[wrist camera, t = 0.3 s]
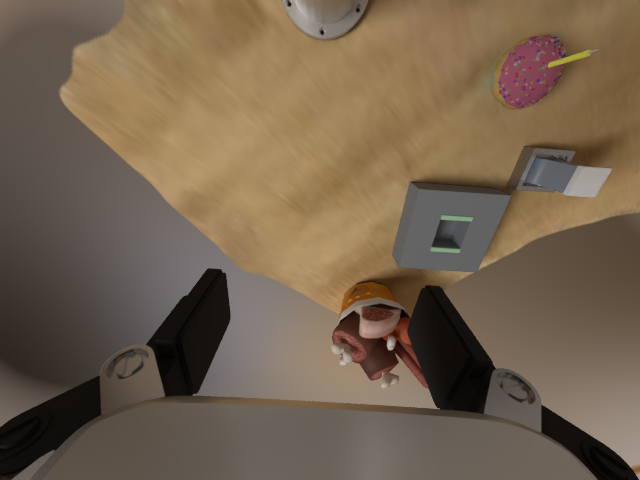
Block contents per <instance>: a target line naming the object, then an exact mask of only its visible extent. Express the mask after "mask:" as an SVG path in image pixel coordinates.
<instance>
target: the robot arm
mask: <svg viewBox="0 0 640 480" xmlns="http://www.w3.org/2000/svg"><path fill="white" fill-rule="evenodd" d="M368 1H369V0H282V2H283V5H284V7H285V10H286V12H287V14H288V16H289V17H290V19H291V20H292V22H293V23H294V25H295V26H296V27H297V28H298V29H299V30H300V31H301V32H303V33H304V34H306V35H307V36H309V37H312V38H314V39H318V40H332V39H335V38H338V37H341V36H342V35H344V34H346V33H347V32H348V31H349V30H351V29H352V28H353V27H354V26H355V25H356V23H357V22H358V21H359V19H360V18H361V16H362V14H363V12H364V10H365V8H366V6H367V3H368ZM288 3H291V6H290V7H289V6H288ZM356 9H359V13H357V12H356ZM321 31H323V32H324V34H323V35H321ZM229 322H230V306H229V297H228V288H227V279H226V273H222V270H221V269H210V268H209V269H207V270H206V271H205V273H204V274H203V275H202V277H201V278H200V280H199V281H198V282H197V283H196V285H195V286H194V287H193V289H192V290H191V292H190V293H189V294H188V295H187V296H184V297H183V298H182V299H181V300H180V301H179V302H178V304H177V305H176V306H175V308H174V309H173V310H172V311H171V313H170V314H169V316H168V317H167V318H166V319H165V321H164V322H163V323H162V325H161V326H160V327H159V328H158V330H157V331H156V332H155V334H154V335H153V336H152V338H151V339H150V340H149V342H148V343H147V344H146V345H134V346H131V347H128V348H125V349H123V350H121V351H119V352H117V353H116V354H114V355H113V356H112V357H110V358H109V359H108V360H107V361H106V362H105V363H104V365H103V367H102V368H101V371H100V375H99V376H97V377H95V378H93V379H91V380H89V381H87V382H85V383H83V384H81V385H79V386H77V387H75V388H73V389H71V390H69V391H67V392H65V393H62V394H60V395H58V396H56V397H54V398H52V399H50V400H48V401H46V402H44V403H42V404H40V405H38V406H36V407H33V408H31V409H29V410H27V411H25V412H24V413H21V414H20V415H18V416H16V417H14V418H12V419H11V420H9V421H8V422H7V423H5V424H4V425H3V426H1V427H0V480H639V479H638V477H637V476H636V474H635V473H634V471H633V470H632V469H631V468H630V467H629V465H628V464H627V463H626V462H625V461H624V460H623V459H622V458H621V457H620V456H619V455H617V454H616V453H615V452H614V451H613V450H611V449H610V448H609V447H607V446H606V445H604V444H603V443H601V442H600V441H598V440H597V439H595V438H593V437H592V436H590V435H588V434H587V433H586V432H584V431H582V430H581V429H579V428H578V427H576V426H574V425H573V424H571V423H570V422H568V421H566V420H565V419H563V418H562V417H560V416H559V415H557V414H556V413H554V412H552V411H551V410H549V409H548V408H546V407H545V406H543V405H541V399H540V396H539V394H538V392H537V391H536V389H535V388H534V387H533V386H532V385H531V383H529V382H528V381H527V380H526V379H525V378H523V377H522V376H520V375H519V374H517V373H515V372H513V371H511V370H508V369H504V368H498V369H496V368H495V367H494V365H493V364H492V363H493V362H492V361H491V359H490V357H489V356H488V355H487V353H486V352H485V350H484V349H483V347H482V346H481V345H480V343H479V342H478V340H477V339H476V337H475V336H474V335H473V333H472V332H471V330H470V329H469V327H468V326H467V324H466V323H465V321H464V320H463V319H462V317H461V316H460V314H459V313H458V311H457V310H456V308H455V307H454V306H453V304H452V303H451V302H450V300H449V298H448V297H447V296H446V294H445V293H444V291H443V290H442V288H441V287H439V286H430V285H427V286H425V288H422V289H421V291H420V294H419V297H418V300H417V303H416V305H415V308H414V311H413V314H412V317H411V319H410V322H409V325H408V328H407V334H408V337H409V340H410V342H411V345H412V347H413V350H414V352H415V355H416V357H417V360H418V362H419V365H420V368H421V370H422V373H423V375H424V378H425V380H426V383H427V385H428V388H429V390H430V393H431V396H432V398H433V401H434V403H435V405H436V407H437V408H440V409H428V408H414V407H398V406H383V405H382V406H381V405H365V404H350V403H333V402H316V401H298V400H279V399H260V398H241V397H216V396H214V397H212V396H192V395H193V394H196V393H198V391H199V389H200V387H201V385H202V382H203V380H204V378H205V376H206V374H207V371H208V369H209V367H210V365H211V362H212V360H213V358H214V356H215V353H216V351H217V349H218V347H219V344H220V342H221V340H222V338H223V335H224V333H225V331H226V329H227V327H228V324H229Z"/></svg>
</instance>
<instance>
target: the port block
mask: <svg viewBox="0 0 640 480" xmlns="http://www.w3.org/2000/svg"><path fill="white" fill-rule="evenodd" d="M510 198H511V195H509V194H506V193H504V192H502V191H499V190H497V189H495V188H488V187H474V186H460V185H446V184H432V183H418V182H410V183H409V187H408V191H407V196H406V200H405V204H404V208H403V212H402V216H401V220H400V224H399V228H398V233H397V237H396V241H395V245H394V249H393V253H392V255H393V257H394V259H395V261H396V263H397V265H398V267H399V268H413V269H429V270H446V271H462V272H477V271H478V269H479V267H480V264H481V262H482V260H483V258H484V256H485V253H486V251H487V249H488V247H489V245H490V242H491V240H492V238H493V236H494V233H495V231H496V229H497V227H498V225H499V222H500V220H501V218H502V216H503V214H504V211H505V209H506V207H507V205H508V203H509V200H510Z"/></svg>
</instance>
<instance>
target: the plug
mask: <svg viewBox="0 0 640 480" xmlns="http://www.w3.org/2000/svg"><path fill="white" fill-rule="evenodd" d="M611 170H612V169H611V168H604V167H596V166H590V165H585V164H580V163H574V162H569V161H564V160H558V159H553V158H540V157H535V159H534V161H533V164H532V166H531V168H530V170H529V172H528V174H527V177H526V179H525V181H527V182H530V183H533V184H536V185H539V186H542V187H545V188H548V189H552V190H555V191H558V192H561V193H563V194H564V195H567V196H580V197H595V196H596V195H597V193H598V191H599V190H600V188H601V186H602V185H603V183H604V182H605V180H606V178H607V177H608V175H609V174H610V172H611Z"/></svg>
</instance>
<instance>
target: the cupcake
mask: <svg viewBox="0 0 640 480" xmlns="http://www.w3.org/2000/svg"><path fill="white" fill-rule="evenodd" d="M559 41H560V38H558V39H557V37H553V35H546V36H536V37H530V38H526V39H523V40H522V41H520V42H518V43H517V44H516V45H515V46H513V47H512V48H511V49H510V50H509V51H508V52H506V53H505V54H504V55H503V57H502V58H501V60H500V62H499V64H498V65H497V67H496V68H495V69H494V71H493V73H492V75H491V79H490V87H491V90H492V93H493V95H494V97H495V98H496V99H497V101H498V102H500V103H501V104H502V105H503V106H504V107H505V108H508V109H521V108H524V107H527V106H531V105H532V104H534V103H536V102H538V101H539V100H540V101H541V100H542V98H543V97H544V96H545V95H547V93H548V92H550V91H551V89H552V88H553V87H554V85H556V83H557V82H558V81H557V80H558V78H559V77H560V76H561V74H562V69H563V68H564V65H563V64H564V63H568V62H571V61H575V60H578V59H581V58H585V57H588V56H590V55H591V53H593V52H596V51H598V50H599V48H598V49H596V50H593V51H591V50H586V51H583V52H580V53H577V54H574V55H571V56H568V57H565V54H564V53H565V52H566V50H564V48H563V47H564V46H562V45H563V44H562V42H559ZM561 44H562V45H561ZM564 51H565V52H564Z"/></svg>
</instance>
